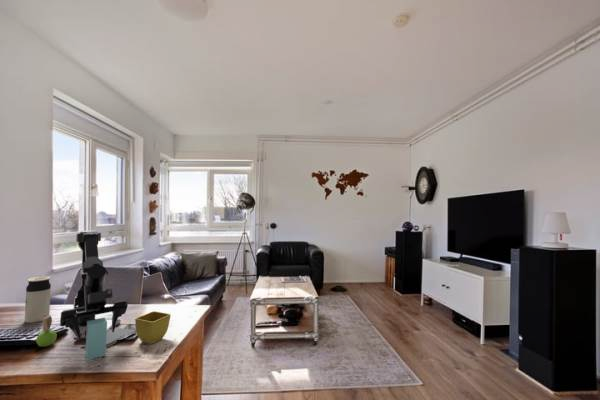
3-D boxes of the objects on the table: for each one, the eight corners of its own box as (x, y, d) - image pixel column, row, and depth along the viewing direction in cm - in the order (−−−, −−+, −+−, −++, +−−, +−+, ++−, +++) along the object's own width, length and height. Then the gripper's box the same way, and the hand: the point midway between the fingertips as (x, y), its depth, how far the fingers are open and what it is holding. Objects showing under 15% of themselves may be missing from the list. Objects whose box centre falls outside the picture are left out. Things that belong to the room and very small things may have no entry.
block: (85, 354, 96) (87, 321, 96) (103, 349, 99) (104, 317, 100) (87, 360, 92) (88, 325, 93) (105, 355, 95) (107, 321, 96)
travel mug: (51, 315, 130) (53, 275, 131) (45, 321, 123) (47, 279, 124) (29, 318, 127) (31, 277, 127) (21, 324, 119) (23, 281, 120)
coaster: (85, 343, 103) (86, 340, 104) (115, 330, 115) (115, 327, 115) (107, 347, 101) (107, 343, 101) (135, 333, 112) (135, 330, 112)
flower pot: (170, 337, 109) (171, 313, 110) (152, 347, 101) (152, 322, 101) (152, 334, 112) (153, 310, 112) (133, 343, 104) (134, 318, 104)
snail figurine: (32, 352, 97) (34, 316, 97) (38, 344, 102) (40, 310, 103) (52, 348, 99) (54, 313, 100) (58, 341, 105) (59, 308, 105)
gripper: (62, 286, 93) (62, 331, 85) (127, 277, 106) (133, 316, 97) (60, 304, 99) (59, 348, 90) (122, 294, 111) (127, 332, 103)
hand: (97, 335), depth 95 cm, fingers open, 9 cm apart
